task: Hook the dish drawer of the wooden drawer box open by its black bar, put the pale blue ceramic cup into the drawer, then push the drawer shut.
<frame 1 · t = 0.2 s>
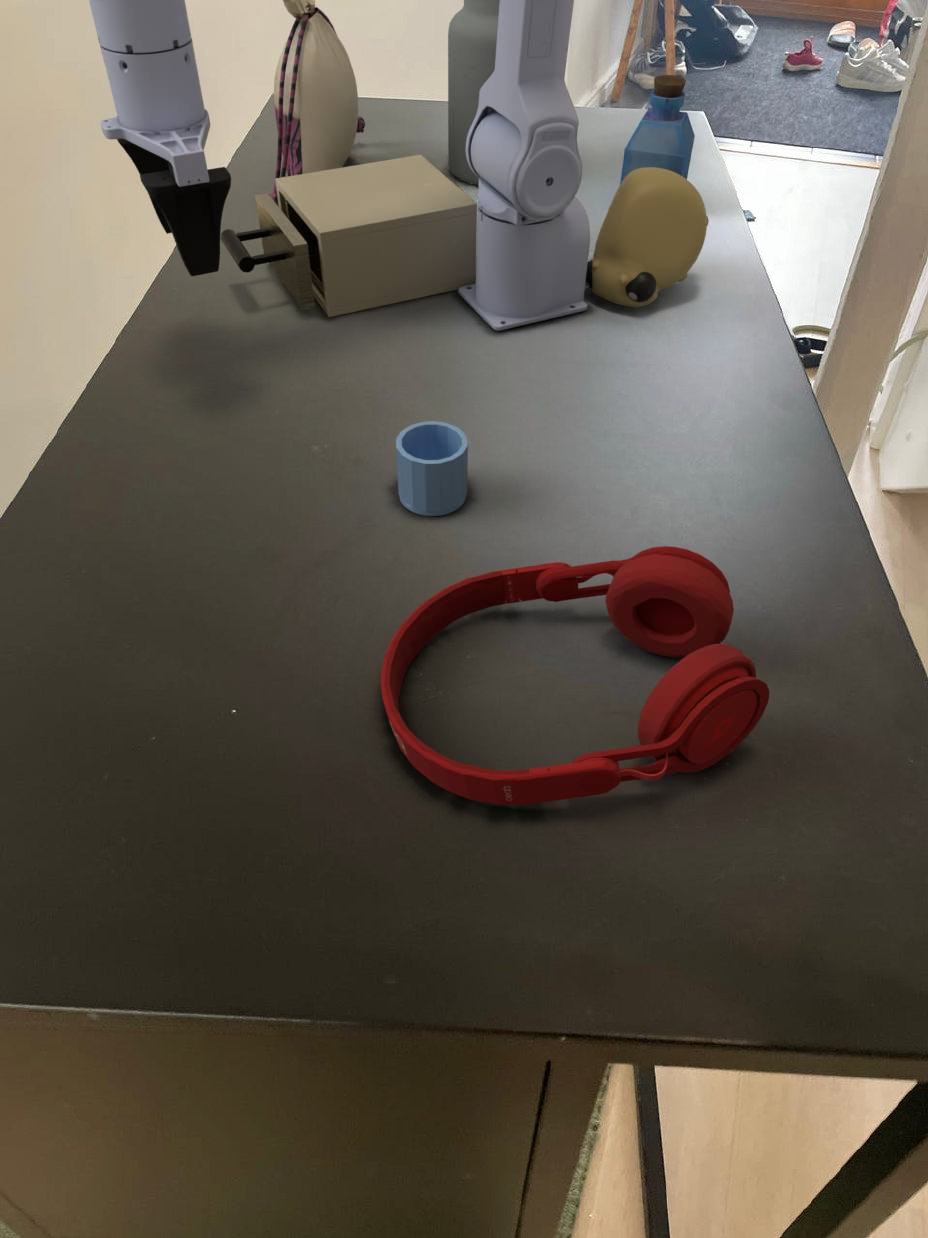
hand: (190, 250, 68), 10 cm above the table, tool pointing down, fingers open, 7 cm apart
water bottle: (490, 172, 105), on the table
headphones: (559, 703, 52), on the table
pouch: (324, 184, 102), on the table
tan rounded piece: (637, 290, 86), on the table
blue corked bottle: (650, 204, 99), on the table
cup: (432, 494, 64), on the table
wooden drawer box: (378, 271, 87), on the table
dish drawer: (326, 242, 83), point 4 cm above the table, slide at 1.0 cm
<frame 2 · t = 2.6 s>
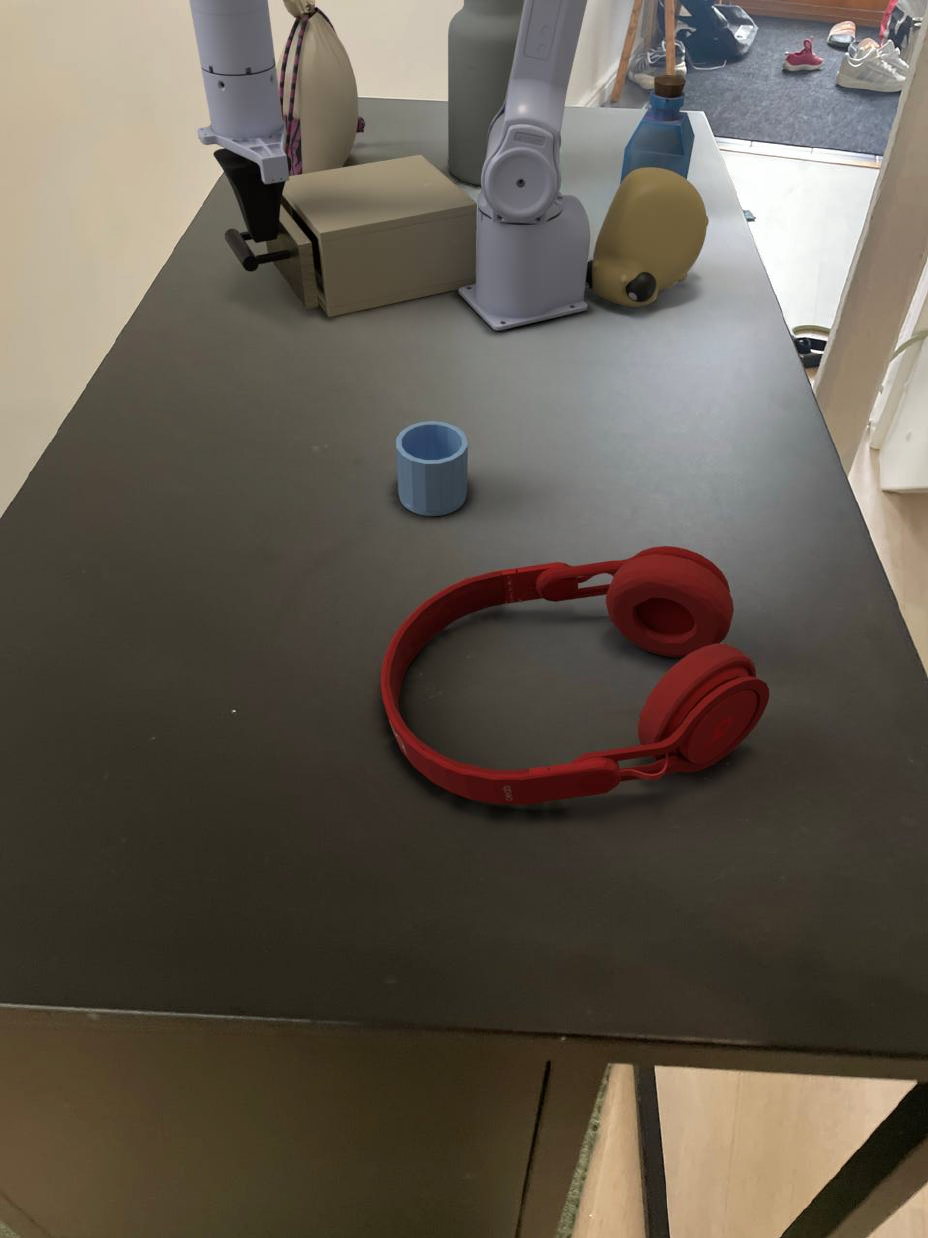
hand: (264, 237, 80), 5 cm above the table, tool pointing down, fingers closed, pressing on dish drawer
dish drawer: (330, 241, 83), point 4 cm above the table, slide at 0.6 cm, touching gripper
everything else where it was.
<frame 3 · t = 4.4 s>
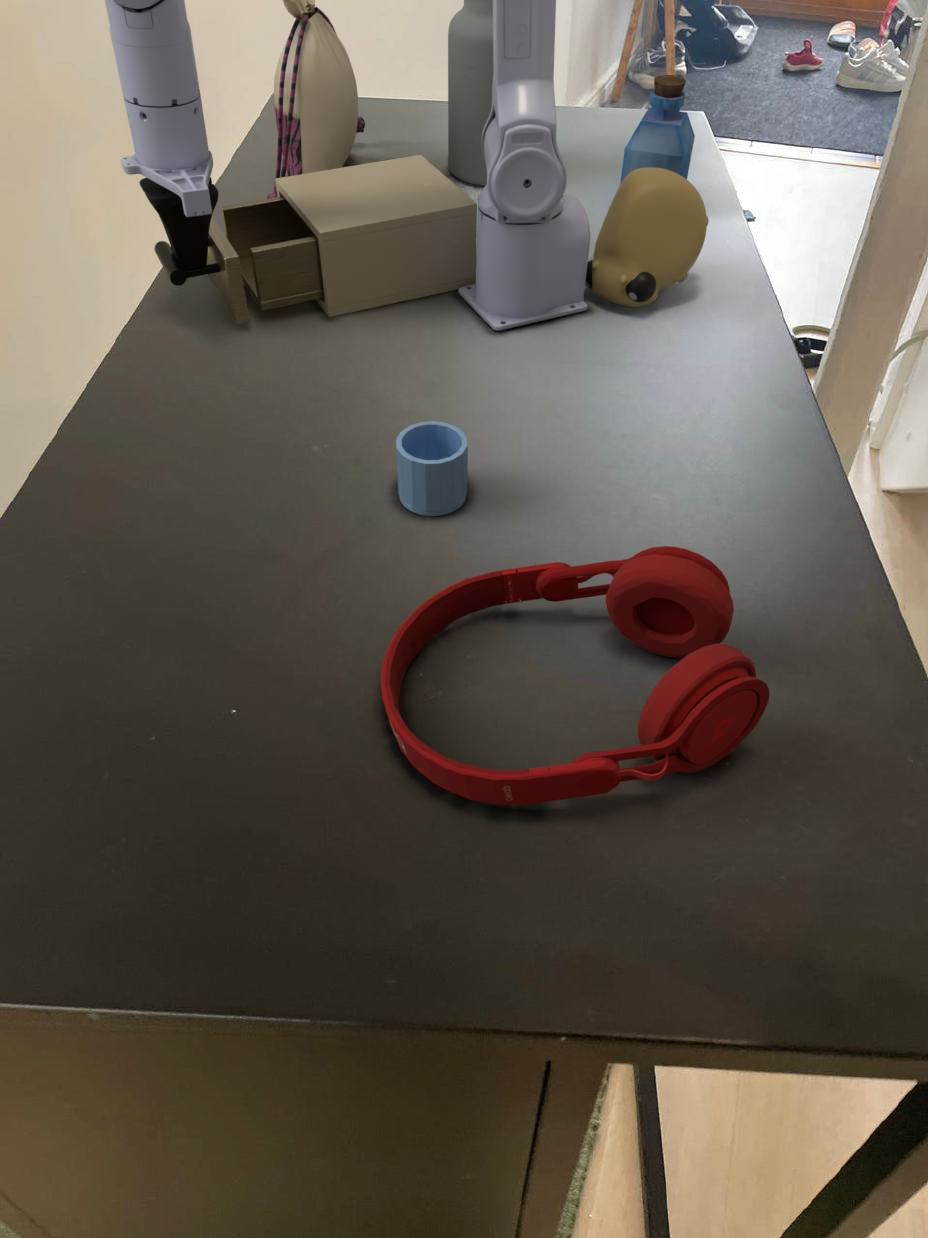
hand: (192, 266, 80), 4 cm above the table, tool pointing down, fingers closed, pressing on dish drawer
dish drawer: (263, 253, 81), point 4 cm above the table, slide at 6.9 cm, touching gripper
everything else where it was.
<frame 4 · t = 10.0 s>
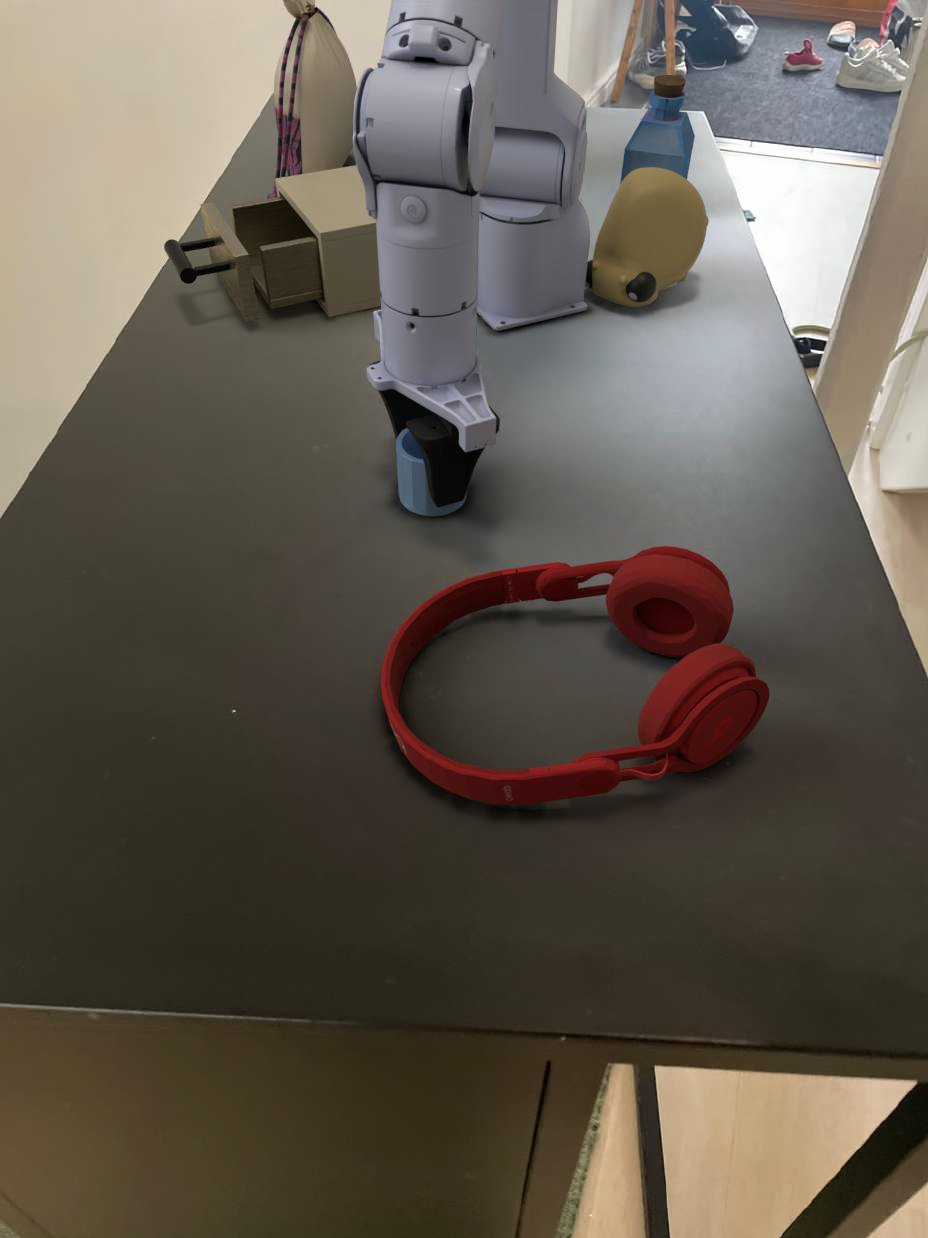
hand: (432, 478, 63), 1 cm above the table, tool pointing down, fingers closed on cup, 5 cm apart
cup: (432, 494, 64), on the table, touching gripper
dish drawer: (272, 252, 82), point 4 cm above the table, slide at 6.1 cm
everything else where it was.
when the fingers open (4 cm above the table, at t = 17.0 s): cup stays where it is, resting on dish drawer.
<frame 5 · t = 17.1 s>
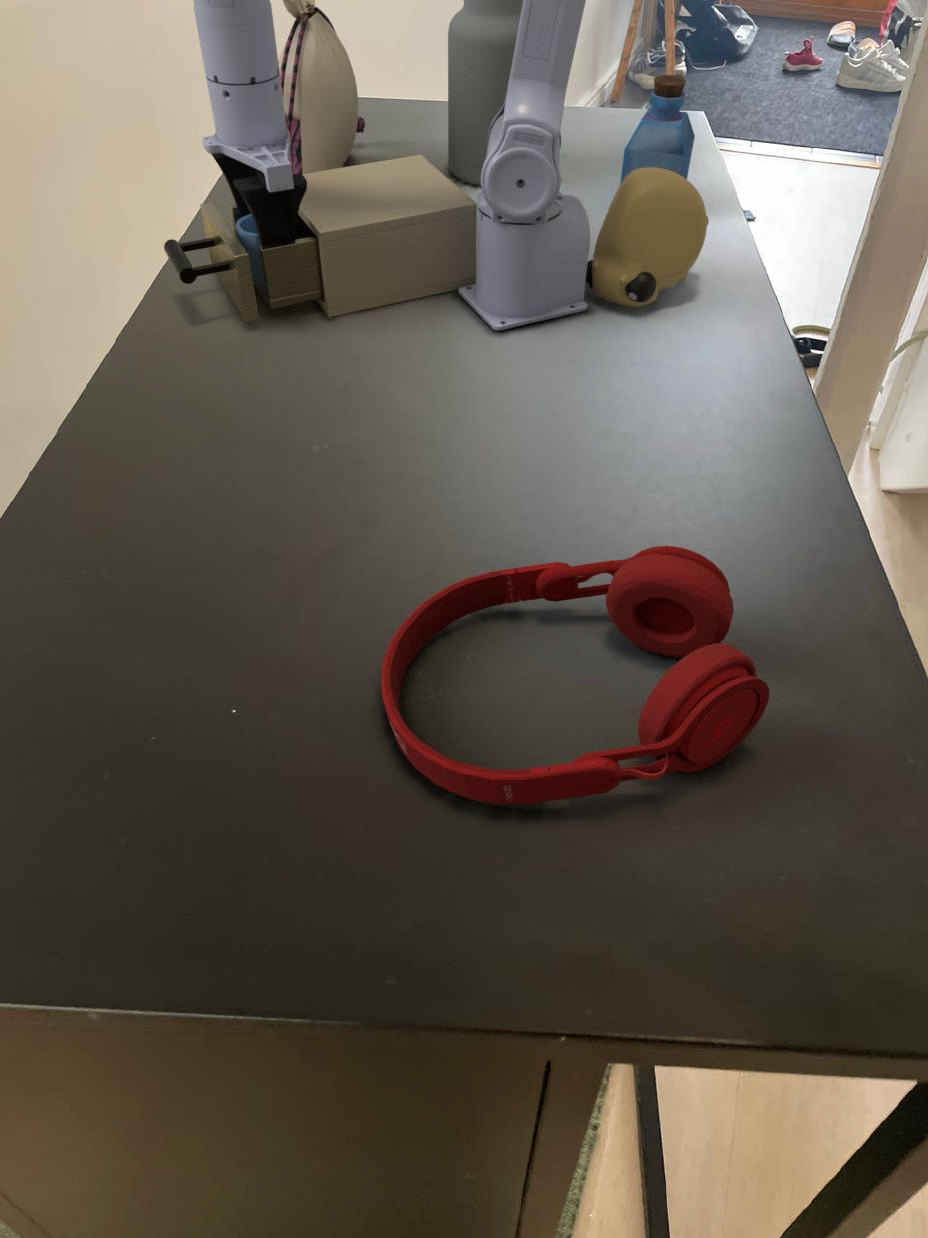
hand: (268, 244, 81), 5 cm above the table, tool pointing down, fingers open, 6 cm apart
cup: (271, 272, 83), point 2 cm above the table, touching dish drawer
dish drawer: (272, 252, 82), point 4 cm above the table, slide at 6.1 cm, touching cup, gripper
everything else where it was.
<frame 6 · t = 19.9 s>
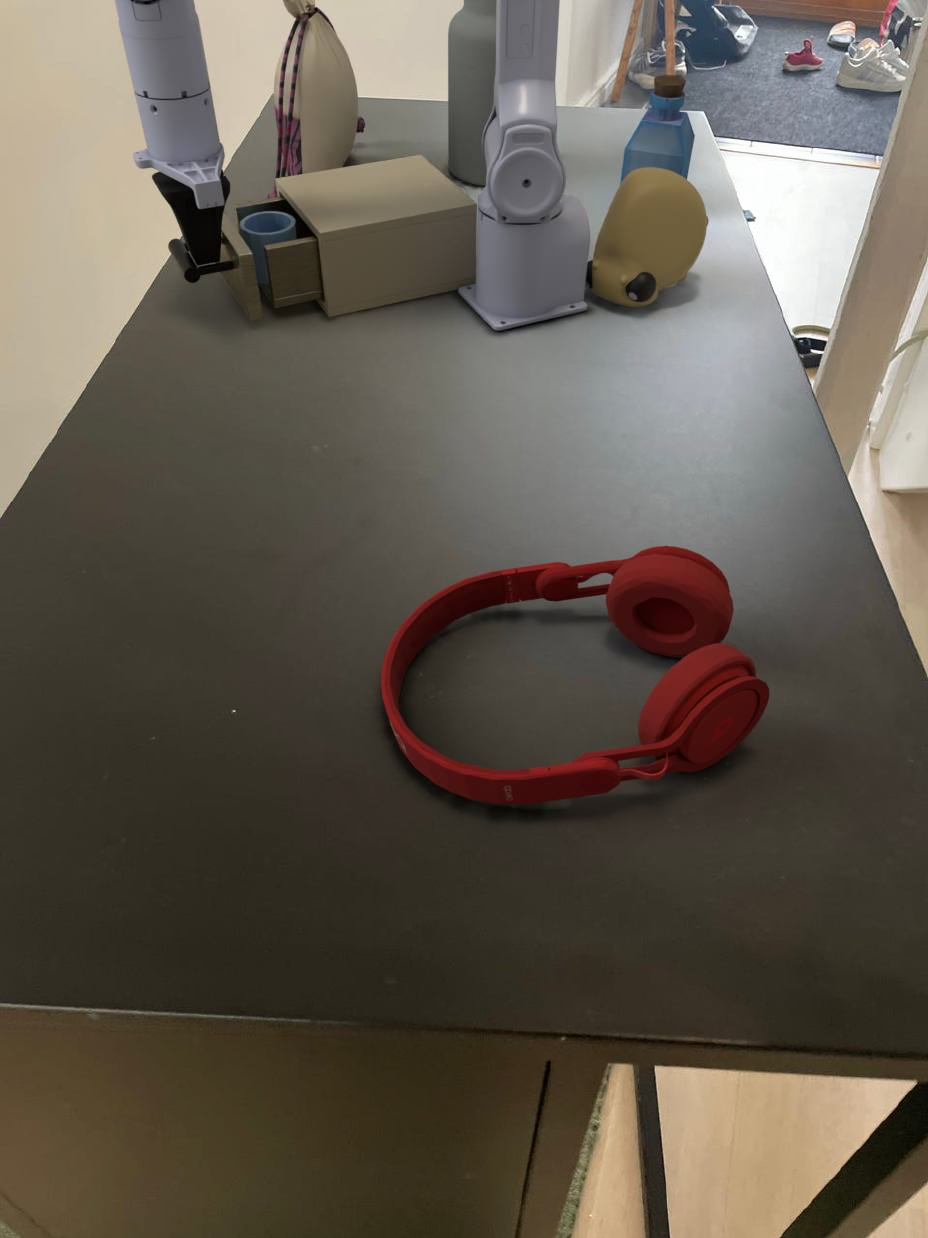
hand: (206, 260, 80), 4 cm above the table, tool pointing down, fingers closed, pressing on dish drawer
dish drawer: (276, 251, 82), point 4 cm above the table, slide at 5.7 cm, touching cup, gripper
everything else where it was.
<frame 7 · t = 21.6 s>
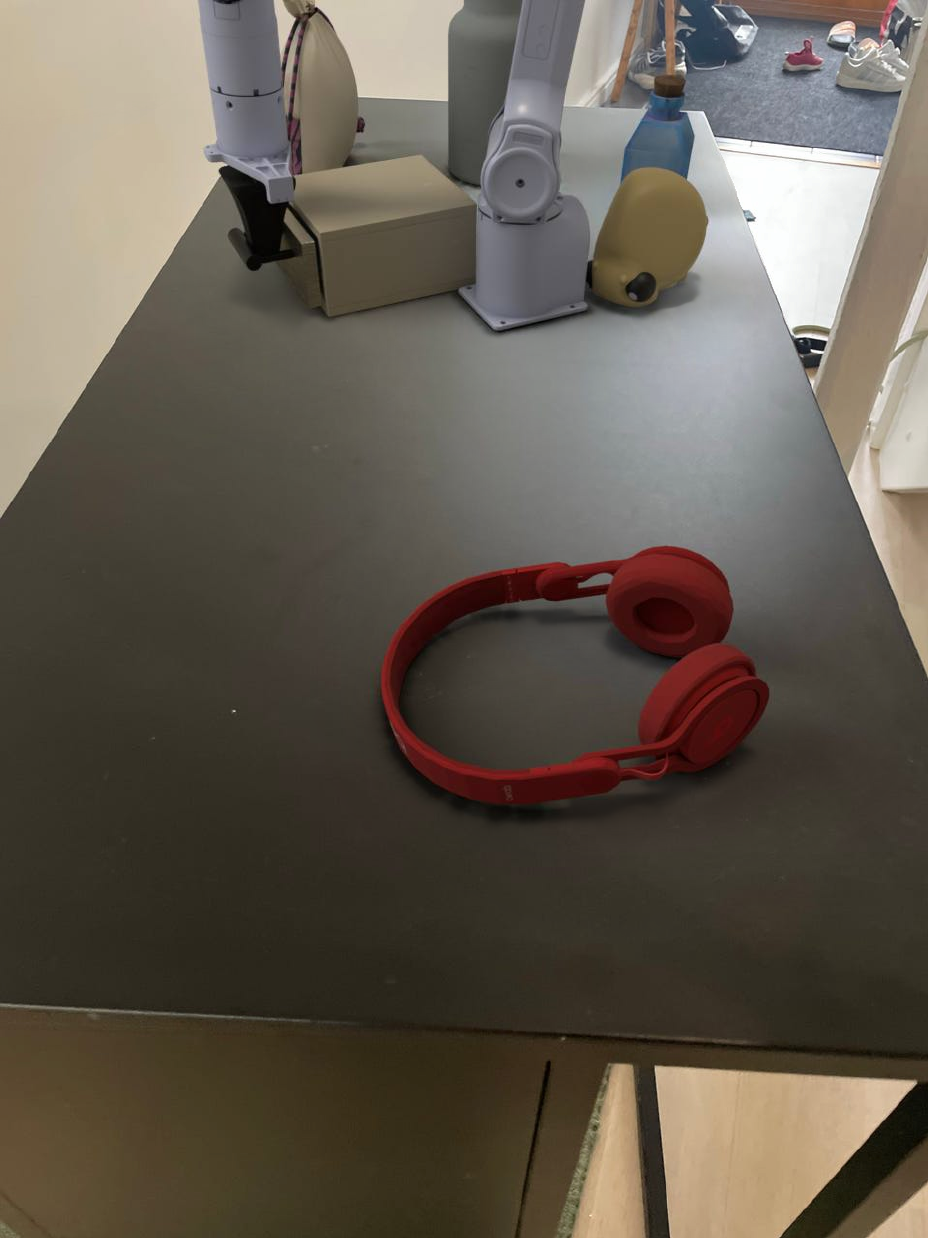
hand: (265, 253, 82), 4 cm above the table, tool pointing down, fingers closed, pressing on dish drawer
cup: (330, 260, 85), point 2 cm above the table, touching dish drawer
dish drawer: (333, 240, 83), point 4 cm above the table, slide at 0.3 cm, touching cup, gripper
everything else where it was.
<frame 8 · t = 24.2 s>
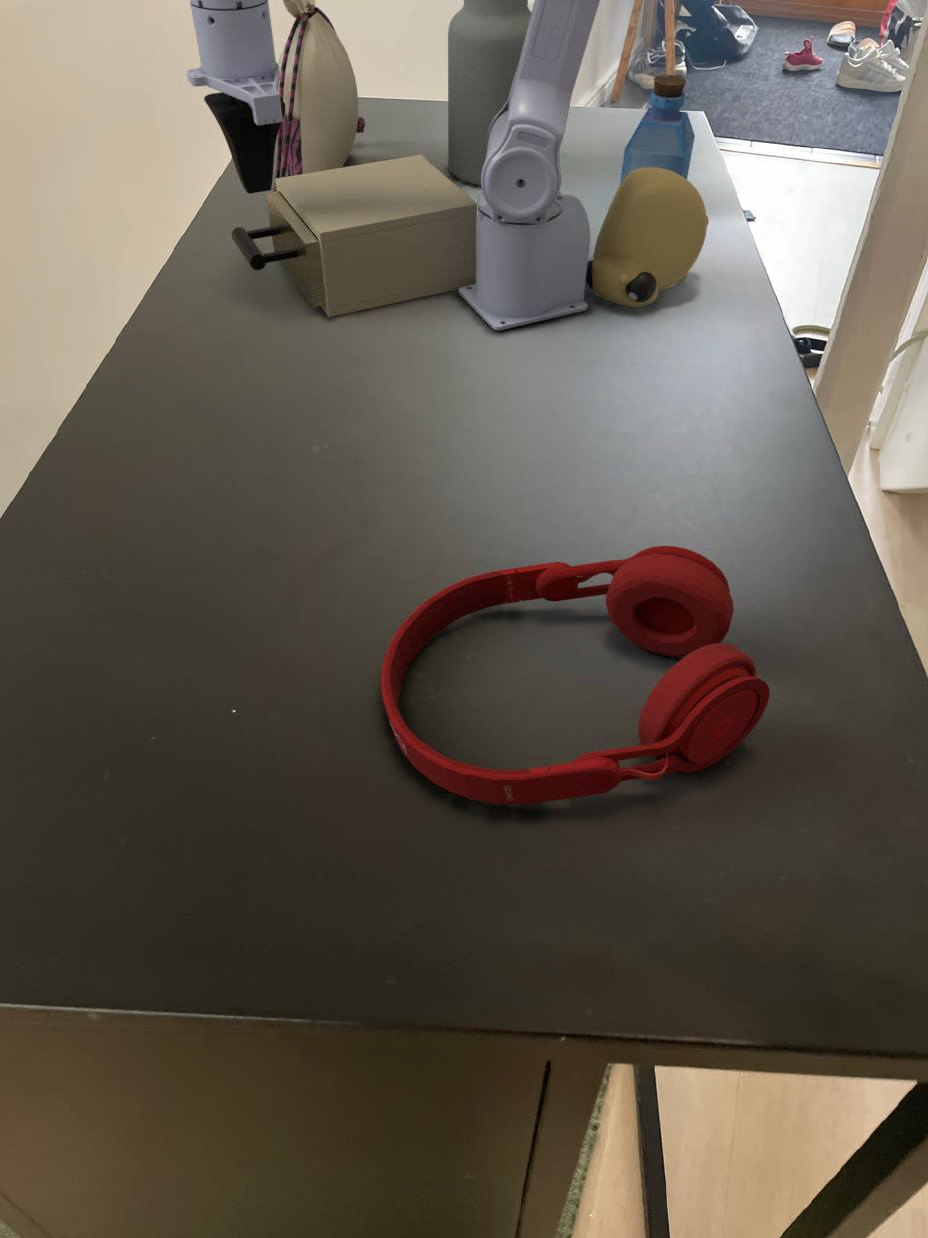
hand: (257, 188, 77), 9 cm above the table, tool pointing down, fingers closed
dish drawer: (336, 240, 83), point 4 cm above the table, slide at 0.0 cm, touching cup
everything else where it was.
at the end: dish drawer pulled out 6.9 cm at the most during the clip, back to where it started at the end; cup inside the target area in the wooden drawer box (3.8 cm from its centre), point 2.0 cm above the wooden drawer box's base; dish drawer slide at 0.0 cm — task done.
